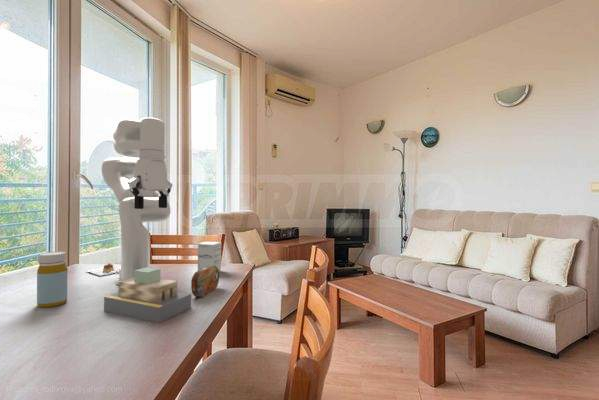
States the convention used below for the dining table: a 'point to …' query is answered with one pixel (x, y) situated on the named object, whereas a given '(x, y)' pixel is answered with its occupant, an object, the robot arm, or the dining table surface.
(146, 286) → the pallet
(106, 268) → the dessert
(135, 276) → the box
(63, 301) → the bottle
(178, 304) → the dock
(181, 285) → the dining table surface
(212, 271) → the tin
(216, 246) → the supplement box
